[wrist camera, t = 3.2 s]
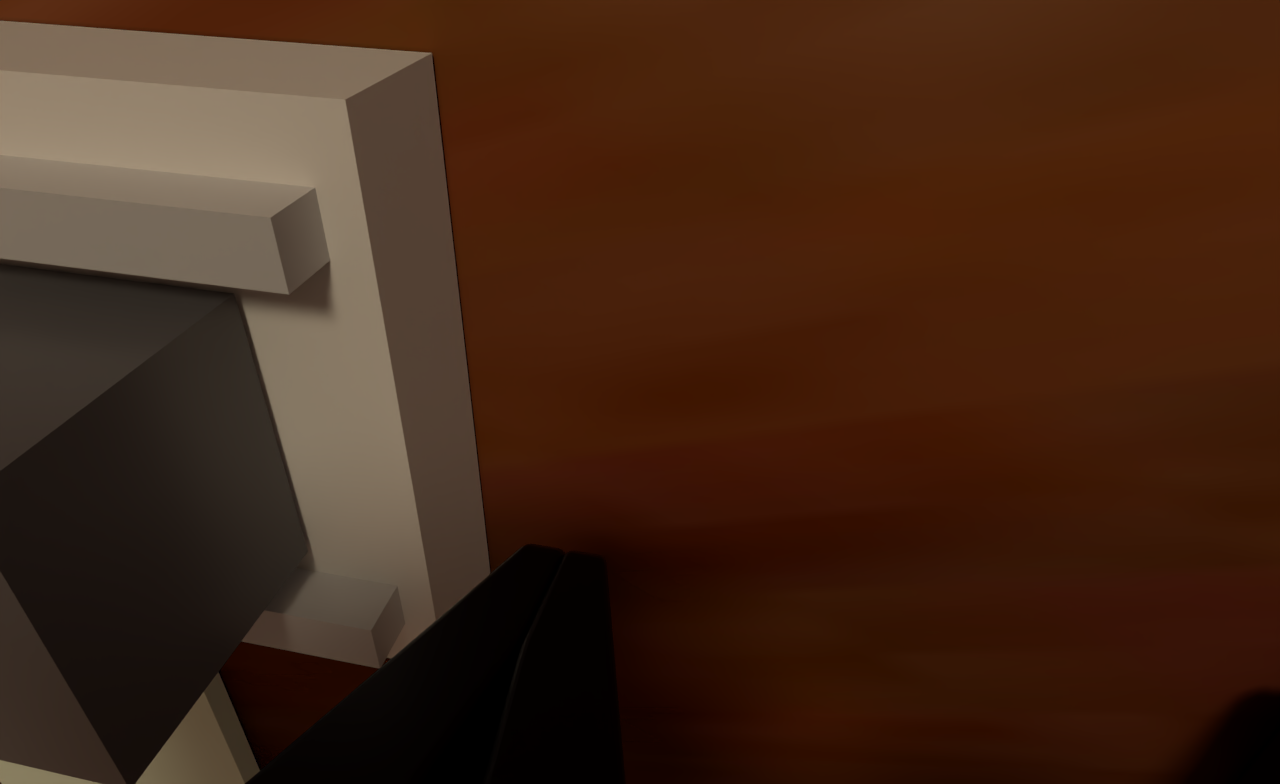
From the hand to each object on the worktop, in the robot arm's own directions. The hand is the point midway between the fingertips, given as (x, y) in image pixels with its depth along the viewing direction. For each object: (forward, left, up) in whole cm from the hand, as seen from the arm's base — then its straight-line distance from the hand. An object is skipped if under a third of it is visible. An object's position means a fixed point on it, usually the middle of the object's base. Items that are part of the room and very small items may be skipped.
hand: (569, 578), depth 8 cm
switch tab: (+6, 0, -1) cm, 6 cm away
